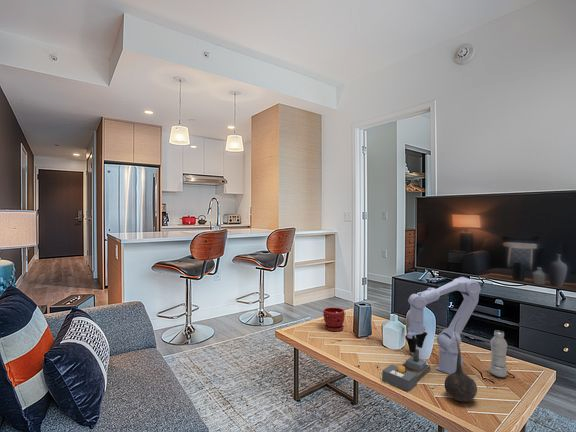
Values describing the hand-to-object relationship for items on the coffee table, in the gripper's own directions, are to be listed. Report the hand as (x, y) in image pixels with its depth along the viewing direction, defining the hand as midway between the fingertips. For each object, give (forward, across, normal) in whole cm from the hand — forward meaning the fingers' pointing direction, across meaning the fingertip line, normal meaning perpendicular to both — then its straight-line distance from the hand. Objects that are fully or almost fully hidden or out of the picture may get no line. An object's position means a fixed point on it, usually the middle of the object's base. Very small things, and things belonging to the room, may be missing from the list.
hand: (416, 349), depth 151 cm
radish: (+10, +8, +22) cm, 26 cm away
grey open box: (+10, +16, 0) cm, 19 cm away
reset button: (+7, +15, 0) cm, 16 cm away
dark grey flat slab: (+10, +4, 0) cm, 10 cm away
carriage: (+8, 0, 0) cm, 8 cm away
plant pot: (+10, -14, -59) cm, 62 cm away
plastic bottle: (+10, -22, +28) cm, 37 cm away
